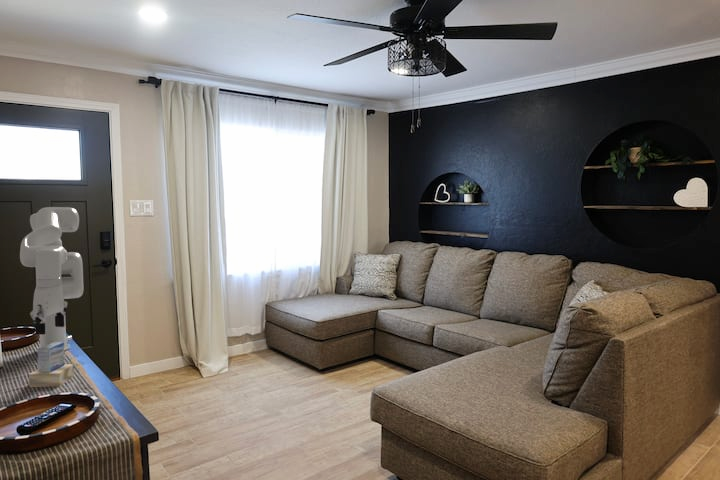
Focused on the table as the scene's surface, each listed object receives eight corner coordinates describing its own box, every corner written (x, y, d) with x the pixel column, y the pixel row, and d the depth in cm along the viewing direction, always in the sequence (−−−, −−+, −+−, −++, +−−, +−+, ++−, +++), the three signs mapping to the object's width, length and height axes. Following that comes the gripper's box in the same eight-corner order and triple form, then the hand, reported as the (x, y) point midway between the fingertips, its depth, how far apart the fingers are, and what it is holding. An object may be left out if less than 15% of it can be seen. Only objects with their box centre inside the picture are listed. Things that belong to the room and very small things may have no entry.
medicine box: (50, 372, 167) (49, 348, 166) (37, 372, 167) (37, 347, 167) (64, 365, 175) (64, 342, 174) (53, 364, 175) (52, 341, 174)
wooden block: (45, 377, 176) (44, 364, 175) (73, 377, 177) (73, 364, 176) (29, 388, 166) (28, 374, 165) (59, 387, 167) (59, 373, 166)
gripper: (55, 278, 178) (57, 323, 179) (20, 287, 161) (21, 336, 162) (75, 279, 177) (76, 324, 179) (41, 288, 160) (43, 337, 162)
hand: (50, 330), depth 171 cm, fingers open, 9 cm apart
